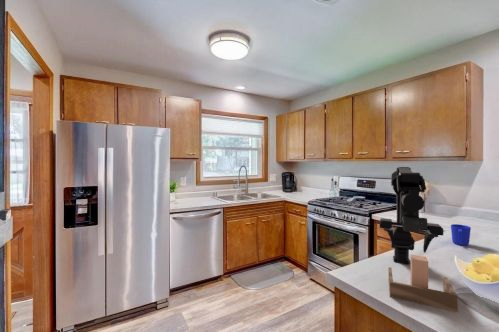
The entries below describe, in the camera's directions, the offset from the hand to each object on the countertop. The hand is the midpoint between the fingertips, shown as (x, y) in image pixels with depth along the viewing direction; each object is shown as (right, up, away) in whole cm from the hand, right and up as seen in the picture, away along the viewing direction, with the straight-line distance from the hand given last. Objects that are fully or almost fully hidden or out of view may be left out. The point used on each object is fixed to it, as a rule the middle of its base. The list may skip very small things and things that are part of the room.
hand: (408, 249), depth 86 cm
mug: (+58, -13, +44) cm, 74 cm away
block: (+2, -15, -3) cm, 15 cm away
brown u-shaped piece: (+2, -15, -2) cm, 15 cm away
